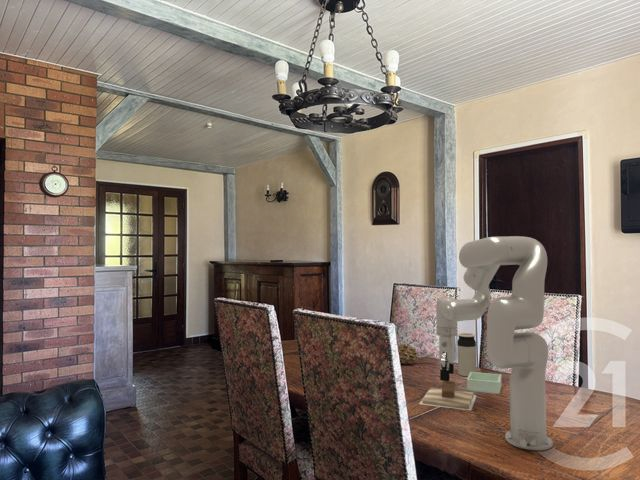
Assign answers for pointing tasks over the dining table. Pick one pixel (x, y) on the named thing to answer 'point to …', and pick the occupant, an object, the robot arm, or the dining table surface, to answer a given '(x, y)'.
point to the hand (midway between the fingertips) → (447, 376)
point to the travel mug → (466, 354)
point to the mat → (453, 407)
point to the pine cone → (409, 354)
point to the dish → (484, 382)
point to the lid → (448, 396)
